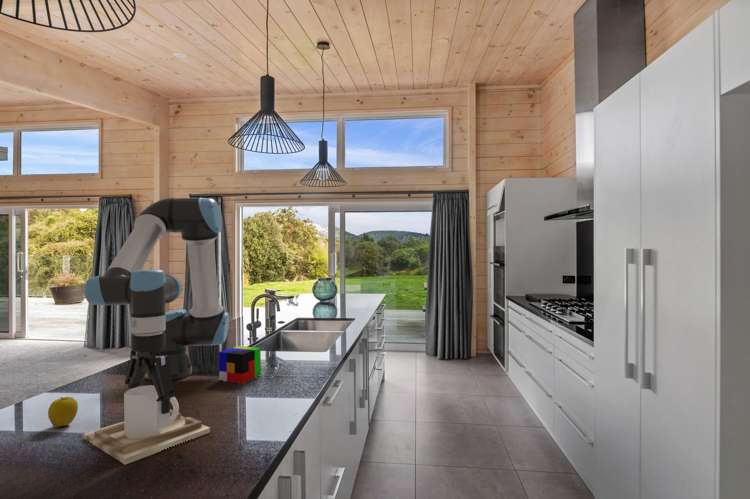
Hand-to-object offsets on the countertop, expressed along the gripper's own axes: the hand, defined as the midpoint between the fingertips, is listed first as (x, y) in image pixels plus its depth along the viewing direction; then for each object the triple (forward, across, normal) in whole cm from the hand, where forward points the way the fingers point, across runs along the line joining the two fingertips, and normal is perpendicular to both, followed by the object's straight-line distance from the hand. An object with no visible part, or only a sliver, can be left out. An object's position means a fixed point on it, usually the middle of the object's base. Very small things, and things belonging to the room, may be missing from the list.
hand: (149, 420), depth 107 cm
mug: (+3, +1, 0) cm, 3 cm away
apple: (+4, -25, -10) cm, 27 cm away
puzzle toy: (+4, -23, +43) cm, 49 cm away
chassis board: (+4, -1, 0) cm, 4 cm away
